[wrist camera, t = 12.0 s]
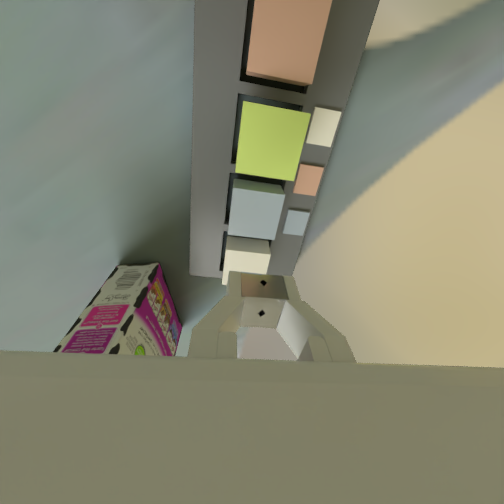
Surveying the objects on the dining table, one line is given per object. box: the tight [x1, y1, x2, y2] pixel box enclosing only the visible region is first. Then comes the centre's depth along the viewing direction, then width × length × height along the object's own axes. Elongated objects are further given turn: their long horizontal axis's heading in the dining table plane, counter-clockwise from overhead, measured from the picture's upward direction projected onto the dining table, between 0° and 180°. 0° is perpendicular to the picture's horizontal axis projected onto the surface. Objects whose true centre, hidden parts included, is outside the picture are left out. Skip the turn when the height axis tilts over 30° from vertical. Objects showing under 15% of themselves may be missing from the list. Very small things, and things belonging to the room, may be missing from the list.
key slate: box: [228, 178, 285, 240], centre depth 20 cm, size 4×4×4 cm
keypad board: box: [189, 0, 380, 278], centre depth 20 cm, size 23×11×2 cm, turn 171°
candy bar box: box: [53, 263, 182, 356], centre depth 22 cm, size 11×5×16 cm, turn 4°
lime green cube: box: [235, 101, 311, 181], centre depth 16 cm, size 4×4×4 cm
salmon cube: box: [246, 0, 332, 86], centre depth 14 cm, size 4×4×4 cm
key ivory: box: [222, 236, 271, 285], centre depth 23 cm, size 4×4×4 cm
